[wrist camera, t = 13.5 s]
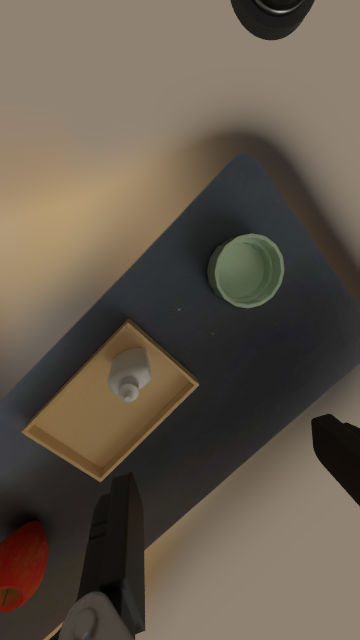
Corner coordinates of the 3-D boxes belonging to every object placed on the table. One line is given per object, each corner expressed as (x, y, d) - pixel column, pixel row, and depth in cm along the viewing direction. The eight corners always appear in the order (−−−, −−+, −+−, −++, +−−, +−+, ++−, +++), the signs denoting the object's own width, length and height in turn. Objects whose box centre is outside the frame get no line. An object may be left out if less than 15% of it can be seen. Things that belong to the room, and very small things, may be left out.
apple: (-4, 522, 44) (-49, 604, 33) (39, 497, 44) (7, 571, 33) (29, 551, 46) (-4, 636, 36) (69, 527, 46) (48, 604, 36)
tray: (128, 317, 39) (127, 322, 36) (195, 377, 43) (199, 385, 40) (28, 421, 40) (21, 432, 38) (103, 469, 44) (100, 482, 42)
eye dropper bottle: (146, 373, 41) (149, 419, 29) (111, 369, 40) (99, 414, 28) (151, 348, 40) (156, 384, 28) (115, 342, 39) (105, 378, 27)
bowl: (201, 244, 38) (209, 242, 34) (264, 230, 39) (280, 227, 35) (213, 308, 41) (221, 314, 36) (271, 294, 42) (287, 298, 37)
